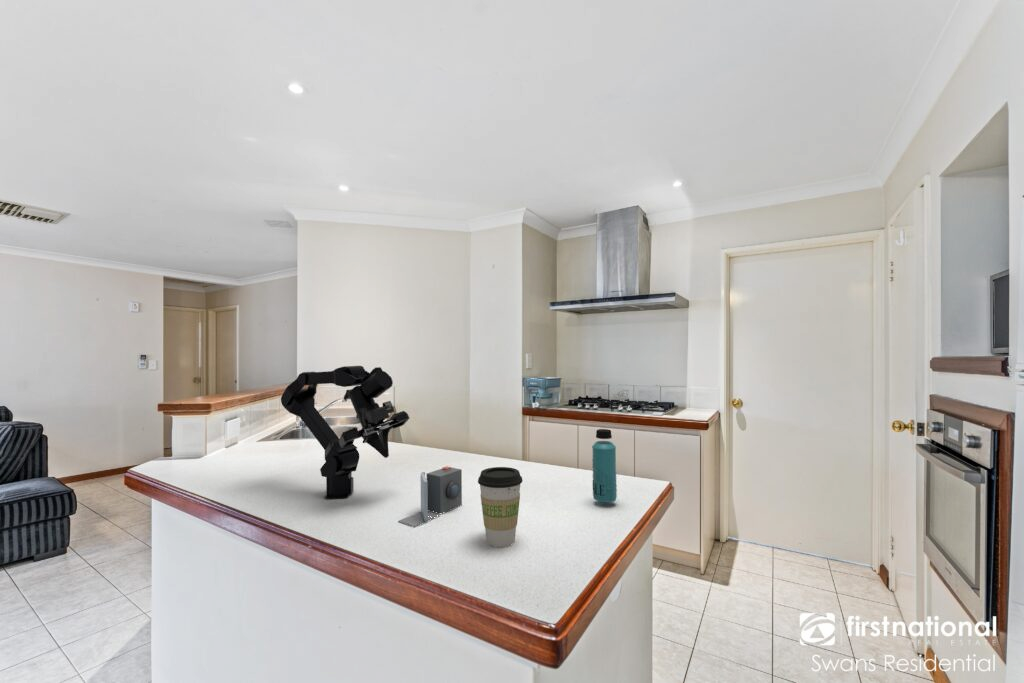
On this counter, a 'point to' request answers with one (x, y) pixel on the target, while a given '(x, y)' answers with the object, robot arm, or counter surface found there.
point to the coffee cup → (500, 504)
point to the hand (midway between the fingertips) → (387, 457)
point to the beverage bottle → (604, 468)
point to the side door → (424, 496)
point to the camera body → (440, 494)
